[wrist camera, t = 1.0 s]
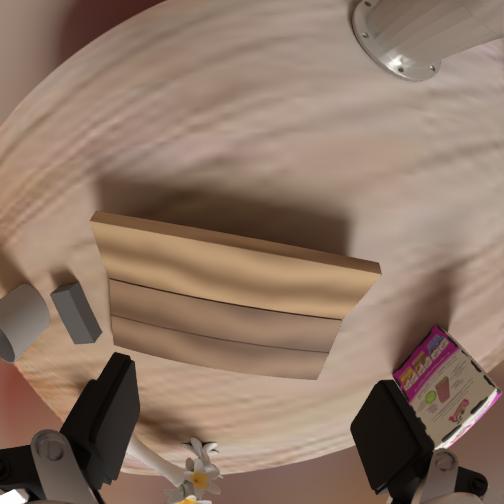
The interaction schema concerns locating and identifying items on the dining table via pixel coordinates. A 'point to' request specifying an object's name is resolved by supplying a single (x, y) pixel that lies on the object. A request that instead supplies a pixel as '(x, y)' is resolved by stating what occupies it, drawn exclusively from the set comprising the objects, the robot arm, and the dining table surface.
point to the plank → (231, 267)
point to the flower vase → (182, 471)
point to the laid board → (219, 332)
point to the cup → (21, 321)
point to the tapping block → (76, 313)
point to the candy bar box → (445, 387)
